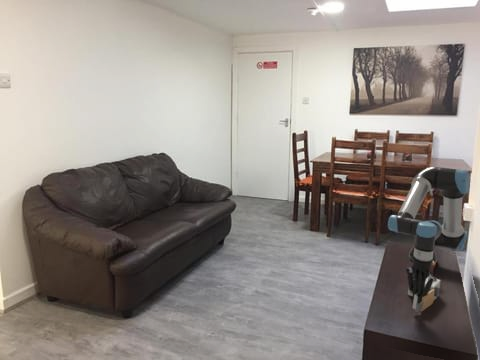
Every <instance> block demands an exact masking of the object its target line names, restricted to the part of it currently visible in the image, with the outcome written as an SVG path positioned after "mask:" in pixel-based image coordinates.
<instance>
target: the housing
mask: <svg viewBox="0 0 480 360" xmlns="http://www.w3.org/2000/svg"><path fill="white" fill-rule="evenodd" d="M428 278H429V277H428ZM428 278H426V281H425V286H426V283H427V282H428ZM433 278H436V277H435V276H433ZM441 281H442V280H441V279H438V278H436V280H435V281H434V282H433V283H432V286H431V288H430V290H429V291H431V290H432V288H434V290H435V291H434V298H433V302H434V301H435V300H436V299H437V298H438V297H439V295H440V290H441V289H440V288H441V287H440V286H441ZM424 288H425V287H424ZM407 295H408V296H410V297H413V292H412V291H410V290H409V287H408V291H407Z"/></svg>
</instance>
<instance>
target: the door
mask: <svg viewBox="0 0 480 360" xmlns="http://www.w3.org/2000/svg"><path fill="white" fill-rule="evenodd" d="M434 291H435V290H434V288H432V290H431V291H429V293H428V295H427V296H424V297H422V302H421V303H418V304H416V309H415V312H416V313H418V312H420V311H421V312H423V311H424V310H426V309H427V308H429V307H430V306H431V305H433V304H434V301H433V298H434Z"/></svg>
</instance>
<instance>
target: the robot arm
mask: <svg viewBox="0 0 480 360" xmlns="http://www.w3.org/2000/svg"><path fill="white" fill-rule="evenodd" d="M470 189H471V175H470V173H469V171H468V170H466V169H465V170H464V169H460V168H452V167H451V168H450V167H441V166H431V167H426V168H424V169H422V170H421V171H419V172H418V173H417V174H416V175H415V176H414V177H413V179H412V181H411V186H410V189H409V192H408V193H407V195H406V197H405V199H404V201H403V203H402V205H401V207H400V209H399V211H398V213H397V215H396V214H391V215H390V216H389V217H388V221H387V228H388V230H389V231H392V232H394V233H397V234H398V233H400V234H402V235H403V234H404V235H410V236H412V237H413V236H414V237H413V238H414V239H413V244H412V245H413V246H412V247H411V249H410V251H409V253H408V259H409V260H410V261H412V263H411V267H407V268H406V269H405V271H406V274H407V280H408V281H407V282H408V288H409V290H410V291H412V292H413V296H411V298H412V299H411V300H412V301H413V303H412V309H414V310H416V304H418V303H421V302H422V297H424V296H427V295H428V293H429V290H430V288H431V286H432V283H433V282H434V281H435V280H436V277H435V278H433V277H434V276H433V277H432V276H431V271H430V270H431V266H432V261H434V262H435V263H437V261H438V258H437V253H436V247H439V248H443V249H447V250H451V251H458V252H460V251H463V249H464V246H465V243H466V240H467V236H468V231H466V230H465V228H464V226H463V225H462V215H463V214H462V213H463V198H464V197H465V196H466V195H467V194H469V192H470ZM431 190H438V191H440V195H441V196H442V197H443V223H442V224H441V223H440V222H438V221H436V220H420V219H415V218H416V216H417V214H418V212H419V210H420V208H421V205H422V204H423V202H424V200H425V198H426V195H427V193H428V192H430V191H431ZM428 277H429V278H428ZM426 278H428V282H427V283H426V286H425V281H426ZM424 287H425V288H424Z"/></svg>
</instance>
